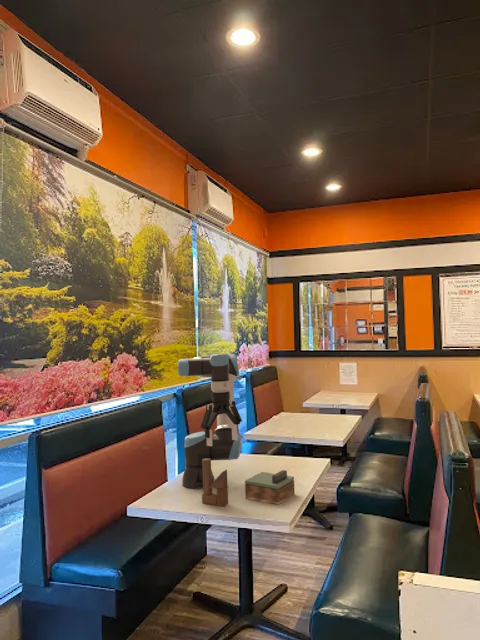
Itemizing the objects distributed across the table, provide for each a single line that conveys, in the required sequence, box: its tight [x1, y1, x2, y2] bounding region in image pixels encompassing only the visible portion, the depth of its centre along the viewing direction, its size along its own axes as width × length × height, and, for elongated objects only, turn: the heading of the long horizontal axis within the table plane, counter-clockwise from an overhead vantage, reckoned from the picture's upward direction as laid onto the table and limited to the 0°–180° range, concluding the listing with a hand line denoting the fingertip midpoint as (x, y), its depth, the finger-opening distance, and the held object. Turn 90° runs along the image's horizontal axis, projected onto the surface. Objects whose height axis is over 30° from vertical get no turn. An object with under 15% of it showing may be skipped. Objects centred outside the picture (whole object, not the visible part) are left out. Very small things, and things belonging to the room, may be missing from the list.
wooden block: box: [201, 458, 229, 507], centre depth 204 cm, size 4×11×18 cm, turn 62°
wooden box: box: [244, 479, 295, 506], centre depth 210 cm, size 16×14×6 cm
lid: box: [244, 469, 295, 489], centre depth 210 cm, size 16×14×4 cm
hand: (222, 442), depth 204 cm, fingers open, 13 cm apart
